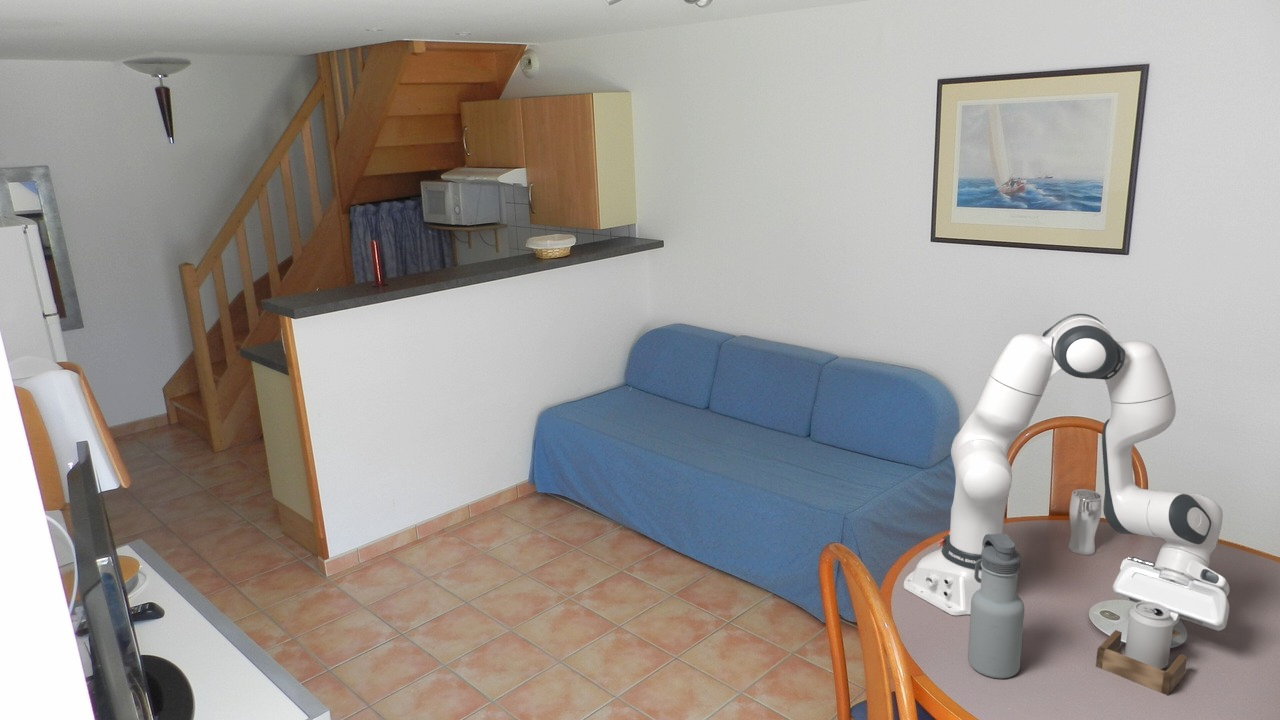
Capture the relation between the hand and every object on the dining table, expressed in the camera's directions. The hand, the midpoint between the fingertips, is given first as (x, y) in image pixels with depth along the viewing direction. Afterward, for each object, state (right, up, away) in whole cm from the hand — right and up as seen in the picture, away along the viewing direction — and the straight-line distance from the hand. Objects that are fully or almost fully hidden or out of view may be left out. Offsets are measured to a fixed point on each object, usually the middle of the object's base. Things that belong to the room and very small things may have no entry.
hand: (1157, 631), depth 172 cm
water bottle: (-33, -7, 0) cm, 34 cm away
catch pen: (-5, -6, -3) cm, 9 cm away
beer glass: (+7, +7, +43) cm, 44 cm away
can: (-3, -6, -1) cm, 7 cm away
